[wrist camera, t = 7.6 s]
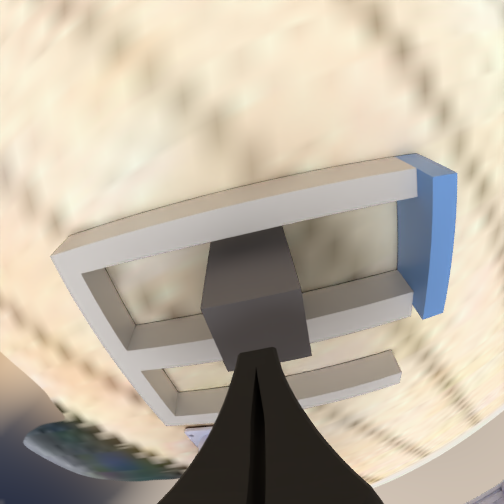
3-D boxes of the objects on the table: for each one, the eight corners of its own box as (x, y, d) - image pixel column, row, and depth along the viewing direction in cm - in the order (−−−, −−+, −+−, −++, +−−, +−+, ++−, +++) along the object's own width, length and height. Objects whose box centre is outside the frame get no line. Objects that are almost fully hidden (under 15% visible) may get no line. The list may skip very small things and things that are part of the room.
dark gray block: (293, 283, 19) (311, 355, 14) (229, 297, 19) (228, 371, 14) (281, 224, 17) (300, 288, 12) (211, 240, 17) (200, 309, 12)
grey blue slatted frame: (405, 355, 23) (422, 390, 20) (169, 403, 25) (164, 440, 21) (416, 153, 15) (457, 173, 12) (68, 236, 17) (37, 270, 13)
